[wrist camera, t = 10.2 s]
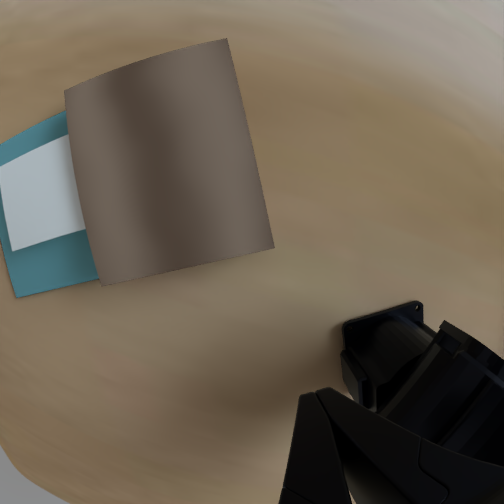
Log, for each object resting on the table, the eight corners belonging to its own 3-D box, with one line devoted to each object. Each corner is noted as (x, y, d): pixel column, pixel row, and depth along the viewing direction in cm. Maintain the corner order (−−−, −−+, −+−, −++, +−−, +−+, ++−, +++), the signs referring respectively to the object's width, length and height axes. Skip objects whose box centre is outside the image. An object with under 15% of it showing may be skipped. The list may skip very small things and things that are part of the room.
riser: (228, 61, 18) (226, 38, 15) (268, 238, 20) (274, 248, 17) (87, 103, 18) (64, 90, 15) (121, 272, 20) (101, 286, 17)
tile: (88, 136, 18) (74, 131, 16) (104, 223, 19) (91, 226, 17) (14, 168, 18) (-2, 167, 16) (28, 246, 19) (12, 251, 17)
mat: (83, 105, 18) (80, 104, 18) (116, 273, 20) (114, 275, 20) (-9, 152, 18) (-13, 152, 18) (19, 296, 20) (16, 298, 20)
